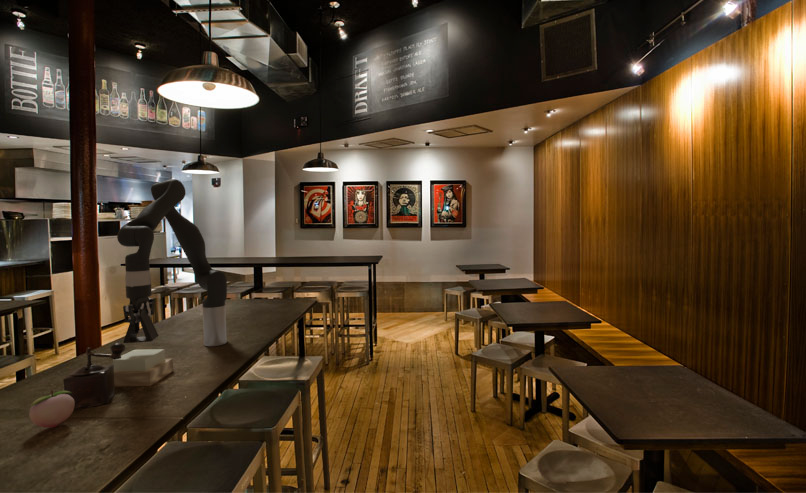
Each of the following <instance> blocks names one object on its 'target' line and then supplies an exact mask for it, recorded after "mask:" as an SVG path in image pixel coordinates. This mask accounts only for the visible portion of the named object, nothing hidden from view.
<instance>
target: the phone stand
mask: <svg viewBox="0 0 806 493" xmlns="http://www.w3.org/2000/svg"><path fill="white" fill-rule="evenodd" d="M134 309H135V308H134ZM138 309H139V310H140V316H139V319H138V328H139V326H141V329H142V332H143V334H144V336H137V335H138V333H137V334H131V328H130V323H128V324H129V325H128V327H127V330H126V333H125V337H124V339H123V342H122V344H133V343H147V342H153V341H154V340H156V338H158V337H159V336H160V335H159V333H158V331H157V329H156V327H155V324H154V323H153V320H152V319H151V318H150V316H149V315H148V314H147V310H146V307H143V309H140V308H138ZM134 314H136V313H134ZM135 317H136V316H134V319H135Z"/></svg>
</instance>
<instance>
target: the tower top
mask: <svg viewBox="0 0 806 493" xmlns="http://www.w3.org/2000/svg"><path fill="white" fill-rule="evenodd" d="M165 359H166V350H165V348H164V349H163V348H159V349H157V348H156V349H155V348H154V349H153V348H152V349H151V348H150V349H149V348H148V349H146V348H145V349H133V350H131V351H128V352H126V353H124V354H121V358H120V359H115V360H114V359H112V364H113V365H114V371H147V370H149V369H150V368H152V367H154V366H156V365H157V364H159V363H161V362H163V361H165Z"/></svg>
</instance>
